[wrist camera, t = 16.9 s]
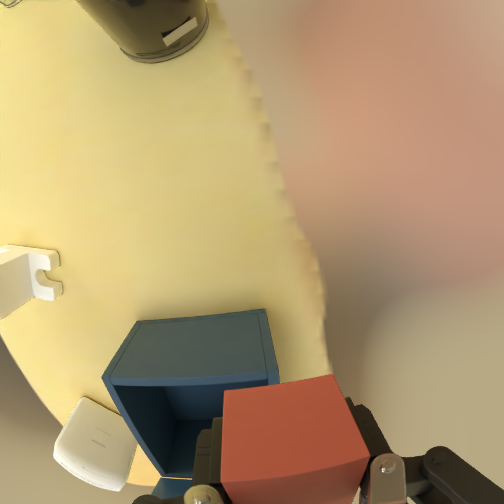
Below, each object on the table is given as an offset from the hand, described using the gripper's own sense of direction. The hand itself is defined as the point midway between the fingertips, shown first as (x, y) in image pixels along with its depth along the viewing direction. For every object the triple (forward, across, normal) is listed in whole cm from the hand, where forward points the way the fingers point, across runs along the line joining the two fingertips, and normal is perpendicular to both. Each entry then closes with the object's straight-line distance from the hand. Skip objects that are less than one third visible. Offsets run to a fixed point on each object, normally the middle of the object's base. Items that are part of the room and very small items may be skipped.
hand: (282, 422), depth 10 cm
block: (0, 0, 0) cm, 0 cm away
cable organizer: (+17, +26, -5) cm, 32 cm away
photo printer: (+17, +24, +18) cm, 34 cm away
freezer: (+17, +6, +10) cm, 21 cm away
